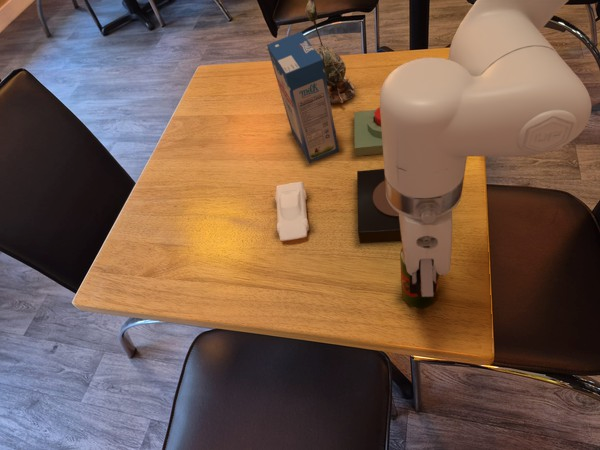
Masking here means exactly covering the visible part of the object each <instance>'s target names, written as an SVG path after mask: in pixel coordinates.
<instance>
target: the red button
mask: <svg viewBox="0 0 600 450" xmlns="http://www.w3.org/2000/svg"><path fill="white" fill-rule="evenodd" d="M377 108H378V109H377ZM377 108H376V109H377V110H376V111H375V123H376V124H377V125H378V126H380V127H381V115H380V108H379V107H377Z"/></svg>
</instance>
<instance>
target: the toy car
mask: <svg viewBox="0 0 600 450" xmlns="http://www.w3.org/2000/svg"><path fill="white" fill-rule="evenodd" d="M307 195H308V194H307V191H306V189H305V184H304V182H303V181H295V182H290V183H283V184H280V185H276V186H275V195H274V200H275V203H276V217H277V223H276V230H277V234H278V237H279V240H280V242H288V241H293V240H299V239H305V238H307V235H308V231H310V225H309V224H310V223H309V220H308V215H307V213H308V212H307V202H306V200H307V199H308V197H307Z"/></svg>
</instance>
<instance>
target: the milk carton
mask: <svg viewBox="0 0 600 450" xmlns="http://www.w3.org/2000/svg"><path fill="white" fill-rule="evenodd" d="M266 47H267V51H268V54H269V57H270V61H271V64H272V68H273V72H274V75H275V78H276V82H277V86H278V89H279V93H280V97H281V99H282V102H283V107H284V110H285V113H286V117H287V120H288V125H289V127H290V131H291V134H292V136H293V138H294V139H295V141H296V143H297V145H298V147H299V148H300V150H301V151H302V153H303V155H304V157H305V159H306V160H307V163H308V164H312V163H314V162H317V161H319V160H321V159H323V158H326V157H328V156H331V155H333V154H335V153H338V152H340V149H339V143H338V138H337V137H338V136H337V132H336V127H335V121H334V116H333V109H332V103H330V98H329V93H328V87H327V82H326V76H325V71H324V65H323V59H322V58H321V57H320V55H319V54H318V53H317V52H316V51H317V49H315V48H314V46H313V45H312V44H311V43H310V41H309V40H308V39H307V37H306V36H305V35H304V34H303V32H302V31H298V32H295V33H293V34H291V35H288V36H286V37H283V38H279V39H278V40H276V41H273V42H271V43H268V44H266Z"/></svg>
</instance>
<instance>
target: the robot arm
mask: <svg viewBox="0 0 600 450" xmlns="http://www.w3.org/2000/svg"><path fill="white" fill-rule="evenodd" d="M569 1H570V0H476V1H475V2H474V4H473V5H472V6H471V8H469V10H468V12H467V13H466V15H464V18H463V19H462V21H461V23H460V24H459V26H458V28H457V30H456V32H455V33H454V36H453V38H452V40H451V43H450V47H449V50H448V59H447V58H444V57H435V56H433V57H420V58H415V59H413V60H409V61H407V62H404V63H403V64H401V65H399V66H397V67H395V69H394V70H392V71H391V72H390V73H389V74H388V76H387V77H386V78H385V79H384V82H382V86H381V88H380V93H379V107H380V115H381V129H382V143H383V154H382V156H383V169H384V171H385V186H386V197H387V200H388V202H389V204H390V205H391V207H392V208H393V209H394V210H395V211H397V212H398V213H399V222H400V231H401V238H402V241H401V243H402V244H401V245H402V247H403V252H404V257H405V263H406V269H407V272H408V273H409V274H410V293H411V294H417V295H420V296H422V297H433V293H435V292H436V284H437V274H436V272H437V273H438V274H439V275H440V276H445V275H448V274H449V273H450V272H451V268H452V267H451V266H452V249H453V246H452V245H453V210H455V208H456V207H458V205H459V203H460V201H461V198H462V194H463V188H464V180H465V174H466V167H467V161H468V157H503V158H505V157H507V158H508V157H528V156H529V157H530V156H536V155H541V154H546V153H549V152H551V151H555V150H558V149H560V148H563V147H565V145H567V144H569V143H570V142H572V141H573V140H575V139H576V138H577V137H578V136H579V135H580V134H581V133H582V132H583V131H584V130H585V128H586V127H587V126H588V123H589V120H590V118H591V114H592V100H591V96H590V93H589V91H588V90H587V87H586V86H585V84H584V83H583V82H582V80H581V78H579V76H578V75H577V74H576V73H575V72H574V71H573V70H572V68H571V67H570V66H569V65H568V63H566V62H565V60H564V59H563V58H562V57H561V56H560V54H559V52H558V51H557V50H556V49H555V48H554V47H553V45H552V44H551V43H550V42H549V41H548V39H547V38H545V36H544V35H543V34H542V33H541V30H542V29H543V28H544V27H545V26H546V25H547V24H548V23H549V21H550V20H551V19H552V18H553V17H554V16H555V15H556V14H557V13H558V12H559V11H560V10H561V9H562V8H563V7H564V6H565V5H566V4H567V3H568V2H569ZM417 270H420V273H417Z"/></svg>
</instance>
